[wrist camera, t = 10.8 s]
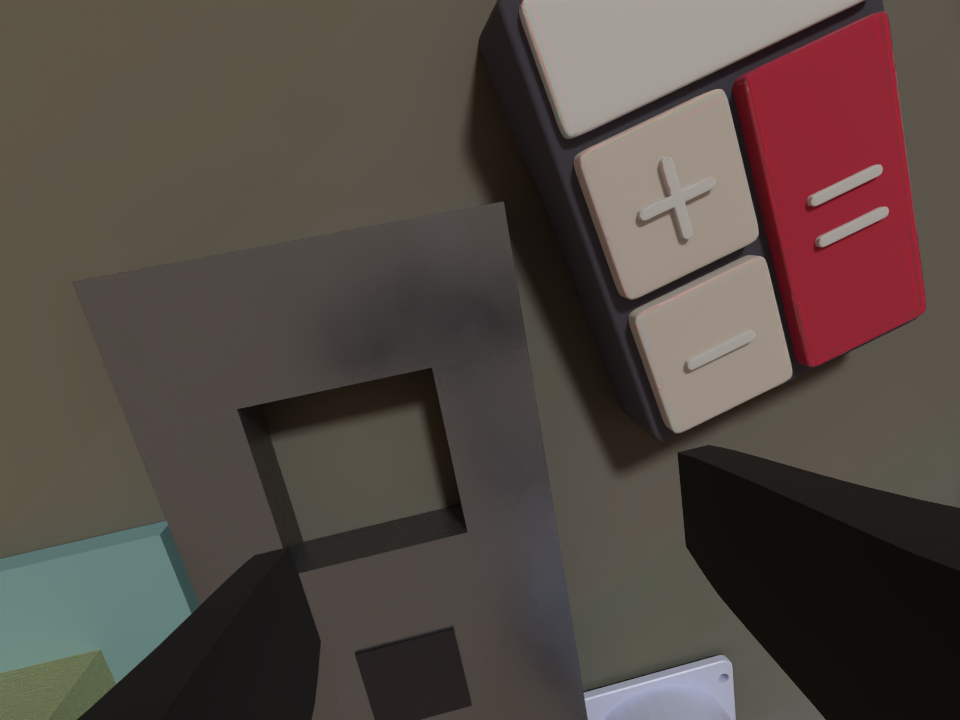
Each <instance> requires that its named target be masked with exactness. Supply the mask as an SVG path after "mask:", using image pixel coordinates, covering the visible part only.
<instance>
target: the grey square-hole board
mask: <svg viewBox="0 0 960 720" xmlns="http://www.w3.org/2000/svg"><path fill="white" fill-rule="evenodd" d="M72 283H73V286H74V288H75V291H76V293H77V296H78V298H79V301H80V303H81V306H82V308H83V311H84V313H85V316H86V318H87V321H88V323H89V326H90V329H91V331H92V334H93V336H94V339H95V341H96V344H97V346H98V349H99V351H100V354H101V356H102V359H103V361H104V364H105V366H106V369H107V371H108V374H109V377H110V379H111V382H112V384H113V387H114V389H115V392H116V394H117V397H118V399H119V402H120V404H121V407H122V409H123V412H124V414H125V417H126V419H127V422H128V425H129V427H130V430H131V432H132V435H133V437H134V440H135V442H136V445H137V447H138V450H139V452H140V455H141V457H142V460H143V462H144V465H145V468H146V470H147V473H148V475H149V478H150V480H151V483H152V485H153V488H154V490H155V493H156V495H157V498H158V500H159V503H160V505H161V508H162V510H163V513H164V516H165V518H166V521H167V523H168V526H169V528H170V531H171V533H172V536H173V538H174V541H175V543H176V546H177V548H178V551H179V553H180V556H181V558H182V561H183V564H184V566H185V569H186V571H187V574H188V576H189V579H190V581H191V584H192V586H193V589H194V591H195V594H196V596H197V599H198V601H199V604H200V605H201V604H202V603H203V602H204V601H205V600H206V599H207V598H208V597H209V596H210V595H211V594H212V593H213V592H214V591H215V590H217V589H218V588H219V587H220V586H221V585H222V584H223V583H224V582H225V581H226V580H227V579H228V578H229V577H230V576H231V575H232V574H233V573H234V572H235V571H237V570H238V569H239V568H240V567H241V566H242V565H243V564H244V563H245V562H247V561H248V560H249V559H250V558H252V557H253V556H254V555H257V554H262V553H266V552H270V551H274V550H278V549H282V548H286V547H290V550H291V553H292V556H293V559H294V562H295V565H296V568H297V571H298V574H299V577H300V580H301V583H302V586H303V589H304V592H305V595H306V598H307V601H308V604H309V607H310V610H311V613H312V616H313V619H314V622H315V625H316V628H317V631H318V634H319V637H320V640H321V647H320V659H319V671H318V681H317V690H316V699H315V706H314V711H313V715H312V720H588V717H587V711H586V705H585V699H584V692H583V686H582V680H581V674H580V668H579V662H578V655H577V649H576V643H575V637H574V631H573V625H572V618H571V612H570V606H569V600H568V594H567V588H566V582H565V575H564V569H563V563H562V557H561V551H560V545H559V538H558V532H557V526H556V520H555V514H554V508H553V501H552V495H551V489H550V483H549V477H548V471H547V464H546V458H545V452H544V446H543V440H542V434H541V427H540V421H539V415H538V409H537V403H536V397H535V391H534V384H533V378H532V372H531V366H530V360H529V354H528V347H527V341H526V335H525V329H524V323H523V317H522V310H521V304H520V298H519V292H518V286H517V280H516V273H515V267H514V261H513V255H512V249H511V243H510V236H509V230H508V224H507V218H506V212H505V206H504V202H498V203H493V204H487V205H482V206H477V207H471V208H466V209H461V210H455V211H450V212H445V213H439V214H434V215H429V216H423V217H418V218H413V219H407V220H402V221H396V222H391V223H386V224H380V225H375V226H370V227H364V228H359V229H354V230H348V231H343V232H338V233H332V234H327V235H321V236H316V237H311V238H305V239H300V240H295V241H289V242H284V243H279V244H273V245H268V246H263V247H257V248H252V249H247V250H241V251H236V252H230V253H225V254H220V255H214V256H209V257H204V258H198V259H193V260H188V261H182V262H177V263H172V264H166V265H161V266H156V267H150V268H145V269H139V270H134V271H129V272H123V273H118V274H113V275H107V276H102V277H97V278H91V279H86V280H81V281H75V282H72ZM428 368H432V370H433V375H434V380H435V384H436V389H437V393H438V398H439V403H440V407H441V412H442V417H443V421H444V426H445V430H446V435H447V440H448V444H449V449H450V453H451V458H452V463H453V467H454V472H455V477H456V481H457V486H458V490H459V495H460V500H461V505H457V506H453V507H449V508H445V509H440V510H436V511H432V512H428V513H424V514H419V515H415V516H411V517H407V518H403V519H398V520H394V521H390V522H386V523H382V524H377V525H373V526H369V527H365V528H361V529H356V530H352V531H348V532H344V533H340V534H335V535H331V536H327V537H323V538H319V539H315V540H310V541H306V542H303V540H302V536H301V533H300V530H299V527H298V524H297V521H296V518H295V514H294V511H293V508H292V505H291V502H290V499H289V496H288V492H287V489H286V486H285V483H284V480H283V477H282V474H281V470H280V467H279V464H278V461H277V458H276V455H275V452H274V448H273V445H272V442H271V439H270V436H269V433H268V429H267V426H266V423H265V420H264V417H263V414H262V411H261V407H260V404H264V403H268V402H273V401H278V400H283V399H287V398H292V397H297V396H301V395H306V394H311V393H315V392H320V391H325V390H329V389H334V388H339V387H343V386H348V385H353V384H358V383H362V382H367V381H372V380H376V379H381V378H386V377H390V376H395V375H400V374H404V373H409V372H414V371H418V370H423V369H428Z"/></svg>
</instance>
